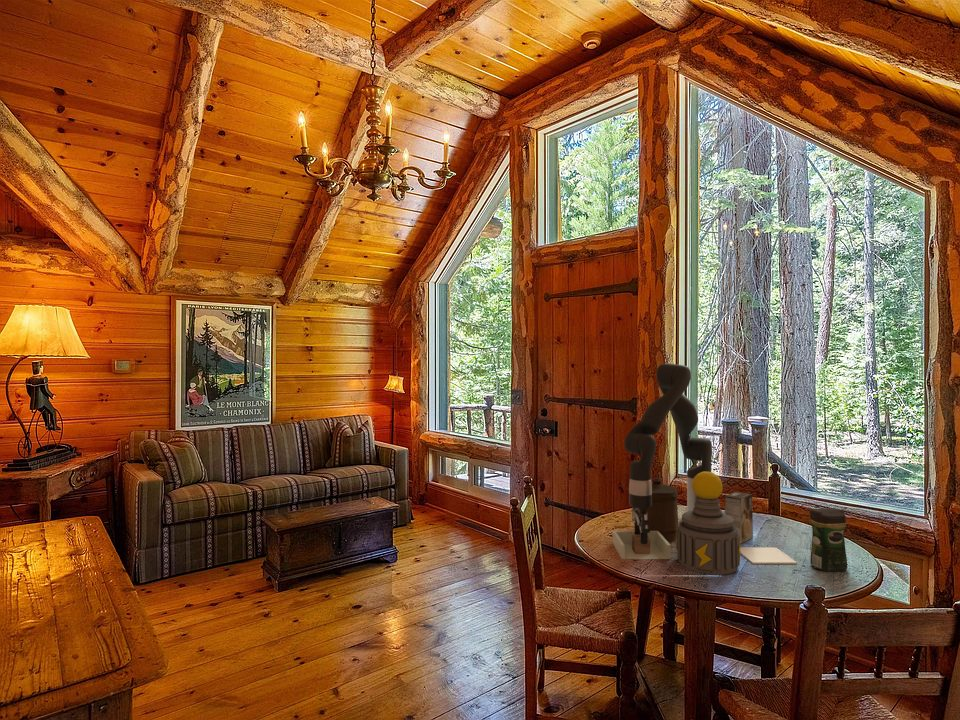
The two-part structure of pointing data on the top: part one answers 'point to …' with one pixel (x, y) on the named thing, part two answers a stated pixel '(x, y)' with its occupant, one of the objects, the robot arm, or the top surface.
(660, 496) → the wooden container
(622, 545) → the open box
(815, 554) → the coffee jar
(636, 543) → the walnut block
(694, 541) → the decorative lamp
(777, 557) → the mat
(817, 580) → the top surface
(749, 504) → the coffee box
